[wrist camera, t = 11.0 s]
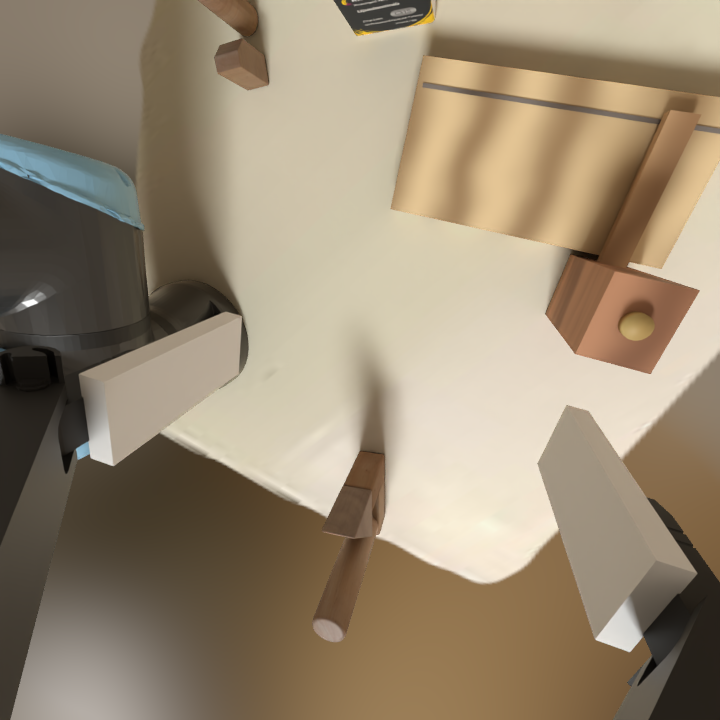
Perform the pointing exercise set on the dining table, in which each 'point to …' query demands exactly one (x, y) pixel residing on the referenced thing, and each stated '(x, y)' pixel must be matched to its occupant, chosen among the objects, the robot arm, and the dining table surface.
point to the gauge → (627, 272)
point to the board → (547, 154)
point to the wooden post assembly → (351, 542)
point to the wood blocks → (239, 45)
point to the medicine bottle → (386, 14)
